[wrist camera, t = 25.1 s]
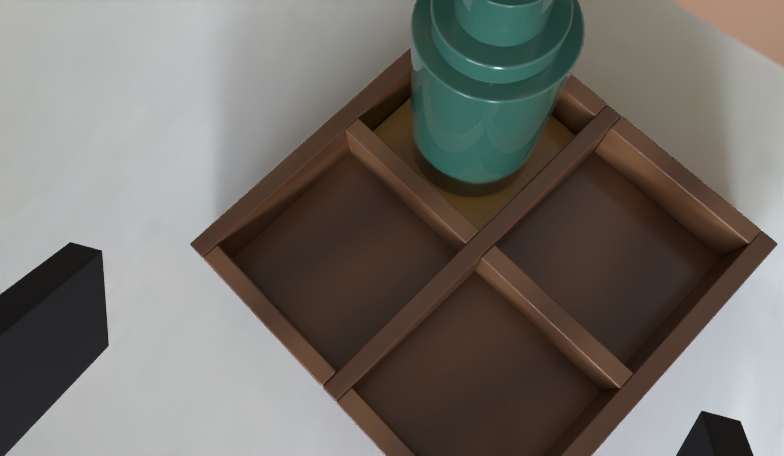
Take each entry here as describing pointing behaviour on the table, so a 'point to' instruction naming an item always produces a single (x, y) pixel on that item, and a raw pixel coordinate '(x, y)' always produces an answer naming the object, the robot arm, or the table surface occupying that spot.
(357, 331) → the tray
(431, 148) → the green bottle
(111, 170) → the table surface
